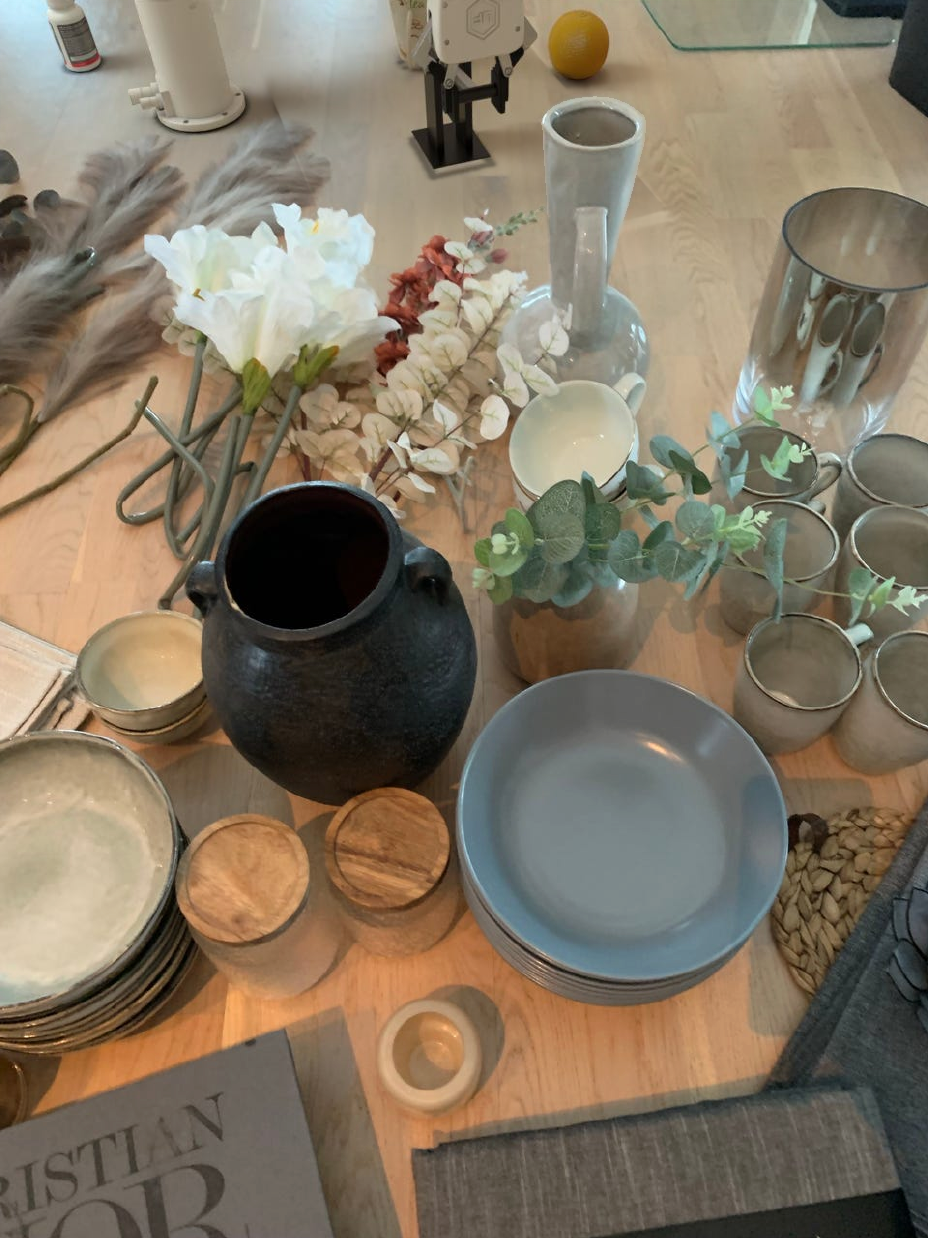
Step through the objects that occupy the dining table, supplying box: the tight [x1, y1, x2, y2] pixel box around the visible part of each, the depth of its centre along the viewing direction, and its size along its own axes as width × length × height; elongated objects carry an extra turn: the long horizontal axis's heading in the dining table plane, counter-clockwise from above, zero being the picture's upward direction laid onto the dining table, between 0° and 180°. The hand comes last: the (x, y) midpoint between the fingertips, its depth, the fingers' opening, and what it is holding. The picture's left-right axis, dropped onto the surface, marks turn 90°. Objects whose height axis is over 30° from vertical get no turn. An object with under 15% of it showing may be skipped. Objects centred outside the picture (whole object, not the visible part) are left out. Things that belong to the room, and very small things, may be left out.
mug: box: [388, 0, 435, 68], centre depth 125 cm, size 8×13×10 cm, turn 174°
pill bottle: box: [45, 0, 101, 73], centre depth 129 cm, size 5×5×10 cm
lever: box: [435, 51, 498, 104], centre depth 104 cm, size 13×5×2 cm, turn 19°
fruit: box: [547, 9, 610, 80], centre depth 124 cm, size 9×8×8 cm
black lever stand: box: [410, 47, 492, 170], centre depth 111 cm, size 10×8×13 cm
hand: (475, 111), depth 103 cm, fingers closed on lever, 5 cm apart
